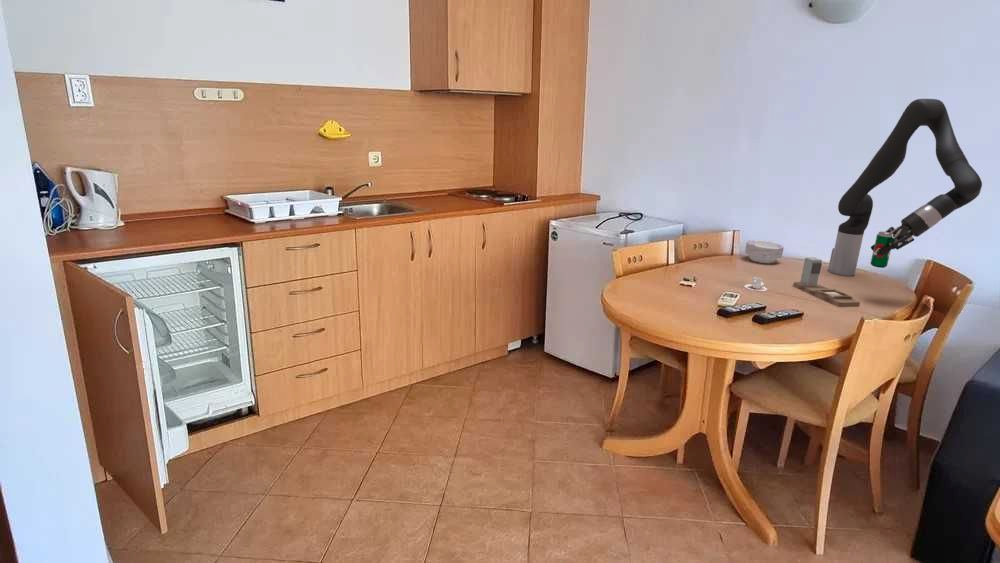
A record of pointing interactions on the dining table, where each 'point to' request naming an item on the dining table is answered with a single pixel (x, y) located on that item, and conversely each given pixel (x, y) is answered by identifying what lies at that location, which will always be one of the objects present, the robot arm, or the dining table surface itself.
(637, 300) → the dining table surface
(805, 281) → the grey post
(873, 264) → the soda can
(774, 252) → the paper bowls
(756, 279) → the teacup and saucer
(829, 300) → the brown flat tray
